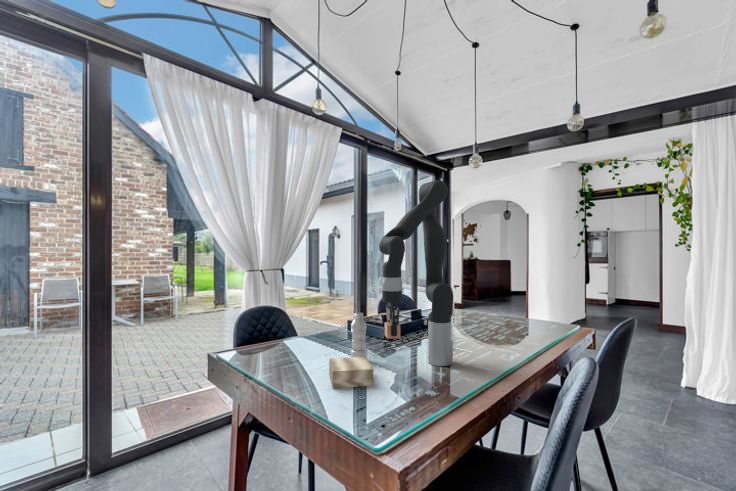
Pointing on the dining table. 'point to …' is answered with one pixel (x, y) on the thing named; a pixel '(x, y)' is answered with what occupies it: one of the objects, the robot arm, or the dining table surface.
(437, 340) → the robot arm
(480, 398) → the dining table surface
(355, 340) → the plastic bottle
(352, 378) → the beige square slab
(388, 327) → the terracotta block
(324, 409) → the dining table surface
